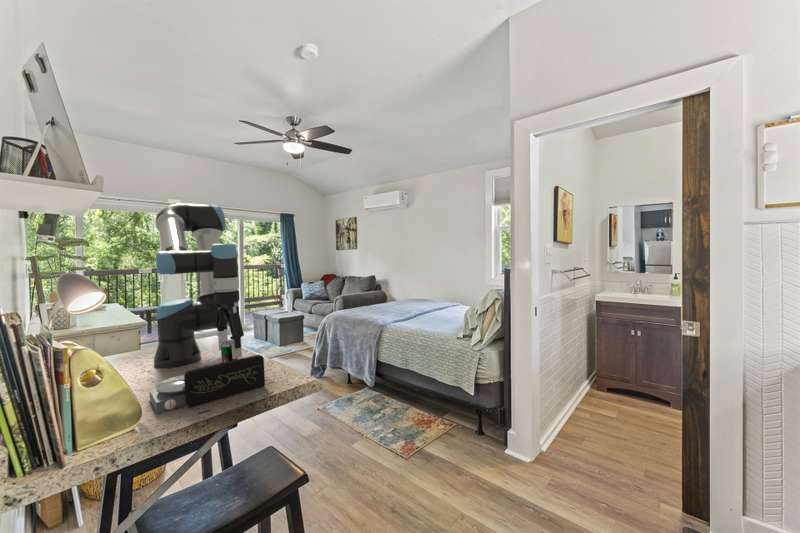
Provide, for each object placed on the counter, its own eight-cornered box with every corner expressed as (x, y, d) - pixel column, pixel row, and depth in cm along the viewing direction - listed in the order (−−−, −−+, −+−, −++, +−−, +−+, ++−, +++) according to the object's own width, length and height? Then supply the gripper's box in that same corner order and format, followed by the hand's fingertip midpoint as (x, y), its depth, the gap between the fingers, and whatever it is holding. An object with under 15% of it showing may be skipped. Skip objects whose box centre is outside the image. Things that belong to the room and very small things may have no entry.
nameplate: (262, 384, 108) (261, 354, 107) (265, 386, 106) (263, 355, 105) (186, 406, 94) (183, 371, 93) (187, 409, 92) (185, 373, 92)
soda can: (235, 372, 118) (233, 338, 117) (242, 376, 115) (240, 341, 114) (220, 377, 114) (218, 342, 113) (226, 380, 111) (224, 344, 110)
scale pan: (153, 387, 98) (153, 382, 98) (196, 376, 106) (196, 371, 106) (160, 399, 90) (160, 393, 90) (206, 386, 98) (206, 381, 98)
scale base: (150, 400, 98) (149, 390, 97) (200, 386, 107) (200, 377, 106) (157, 414, 89) (156, 403, 89) (211, 397, 98) (211, 387, 98)
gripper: (203, 289, 119) (206, 348, 120) (226, 294, 101) (230, 364, 102) (226, 286, 124) (229, 344, 125) (252, 291, 106) (256, 358, 107)
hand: (230, 353), depth 113 cm, fingers open, 13 cm apart
